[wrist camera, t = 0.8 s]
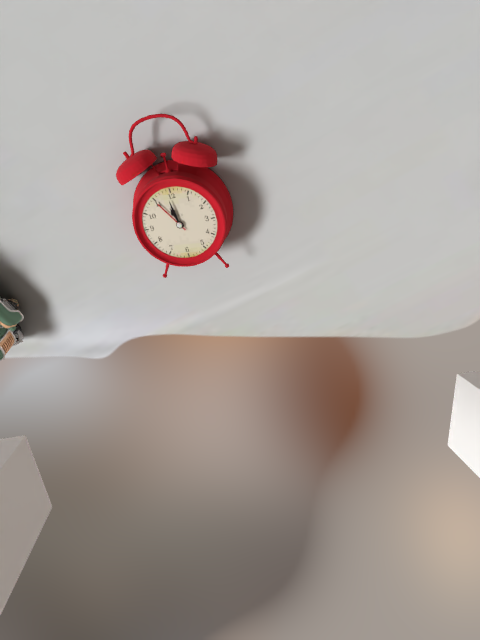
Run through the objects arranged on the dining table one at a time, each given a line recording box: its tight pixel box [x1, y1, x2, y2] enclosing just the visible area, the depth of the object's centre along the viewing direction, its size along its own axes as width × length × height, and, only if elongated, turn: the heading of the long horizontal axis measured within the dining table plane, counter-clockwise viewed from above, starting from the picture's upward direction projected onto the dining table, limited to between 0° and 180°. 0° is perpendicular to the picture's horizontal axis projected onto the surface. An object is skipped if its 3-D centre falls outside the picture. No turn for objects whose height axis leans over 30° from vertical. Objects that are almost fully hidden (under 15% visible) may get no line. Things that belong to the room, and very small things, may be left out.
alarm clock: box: [116, 114, 233, 278], centre depth 35 cm, size 10×6×15 cm
